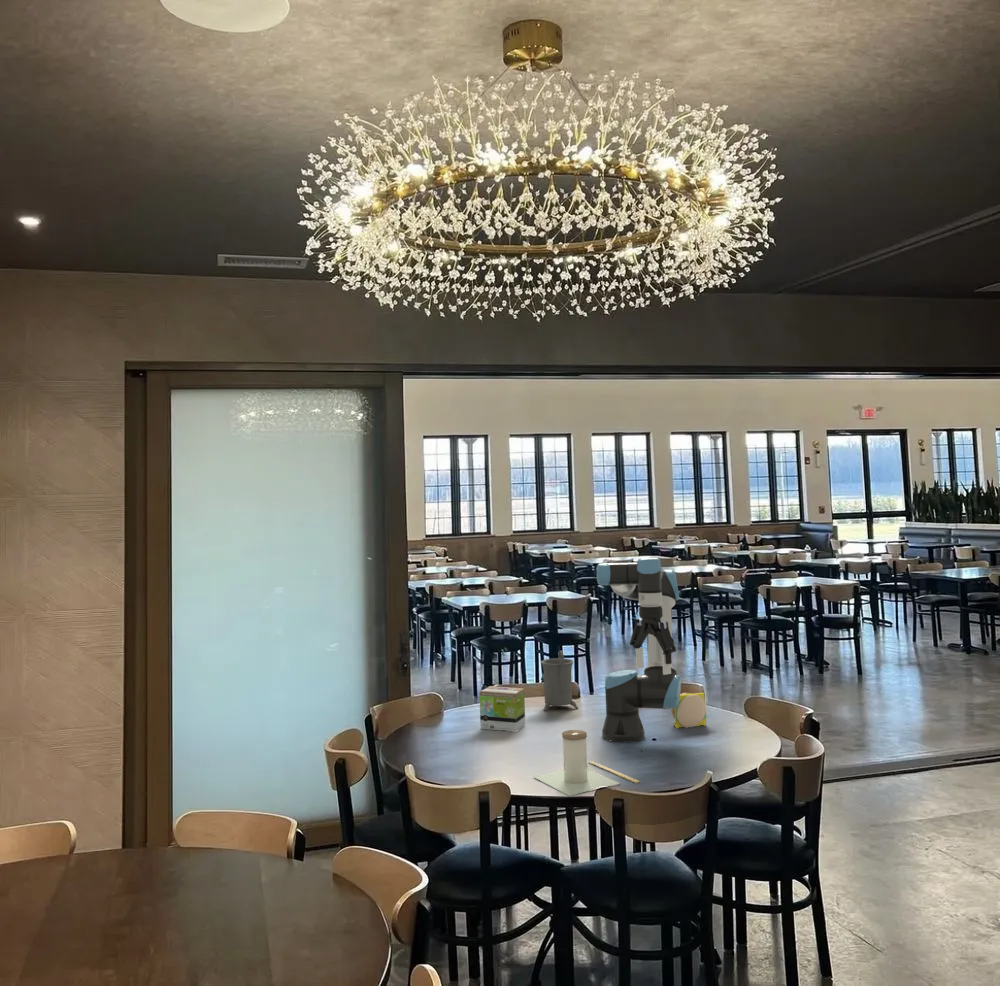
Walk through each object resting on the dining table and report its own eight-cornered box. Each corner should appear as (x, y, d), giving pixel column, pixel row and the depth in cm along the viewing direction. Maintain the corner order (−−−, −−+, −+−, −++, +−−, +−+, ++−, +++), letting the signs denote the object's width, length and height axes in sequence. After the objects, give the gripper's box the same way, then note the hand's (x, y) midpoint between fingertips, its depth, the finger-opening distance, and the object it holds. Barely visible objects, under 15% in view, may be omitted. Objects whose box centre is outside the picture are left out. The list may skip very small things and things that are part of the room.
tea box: (479, 730, 303) (478, 690, 304) (490, 723, 313) (488, 685, 313) (516, 732, 298) (515, 692, 298) (526, 725, 307) (524, 687, 308)
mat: (533, 777, 245) (533, 776, 245) (581, 767, 254) (581, 766, 254) (569, 796, 228) (569, 795, 228) (620, 784, 236) (620, 783, 236)
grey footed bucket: (537, 704, 341) (535, 646, 342) (570, 702, 344) (568, 643, 344) (547, 715, 323) (544, 652, 323) (582, 712, 325) (580, 650, 326)
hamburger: (697, 721, 305) (696, 689, 305) (708, 726, 297) (707, 694, 297) (669, 724, 302) (667, 692, 302) (678, 730, 294) (677, 697, 294)
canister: (559, 778, 242) (557, 732, 243) (579, 774, 246) (577, 728, 246) (572, 785, 236) (570, 737, 236) (593, 780, 239) (591, 733, 240)
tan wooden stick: (588, 763, 258) (588, 761, 258) (592, 762, 258) (592, 761, 259) (635, 783, 237) (635, 782, 237) (639, 782, 237) (639, 781, 238)
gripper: (617, 603, 269) (620, 666, 269) (667, 609, 247) (669, 678, 247) (635, 601, 273) (638, 664, 272) (685, 607, 251) (688, 675, 250)
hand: (653, 671), depth 259 cm, fingers open, 13 cm apart
